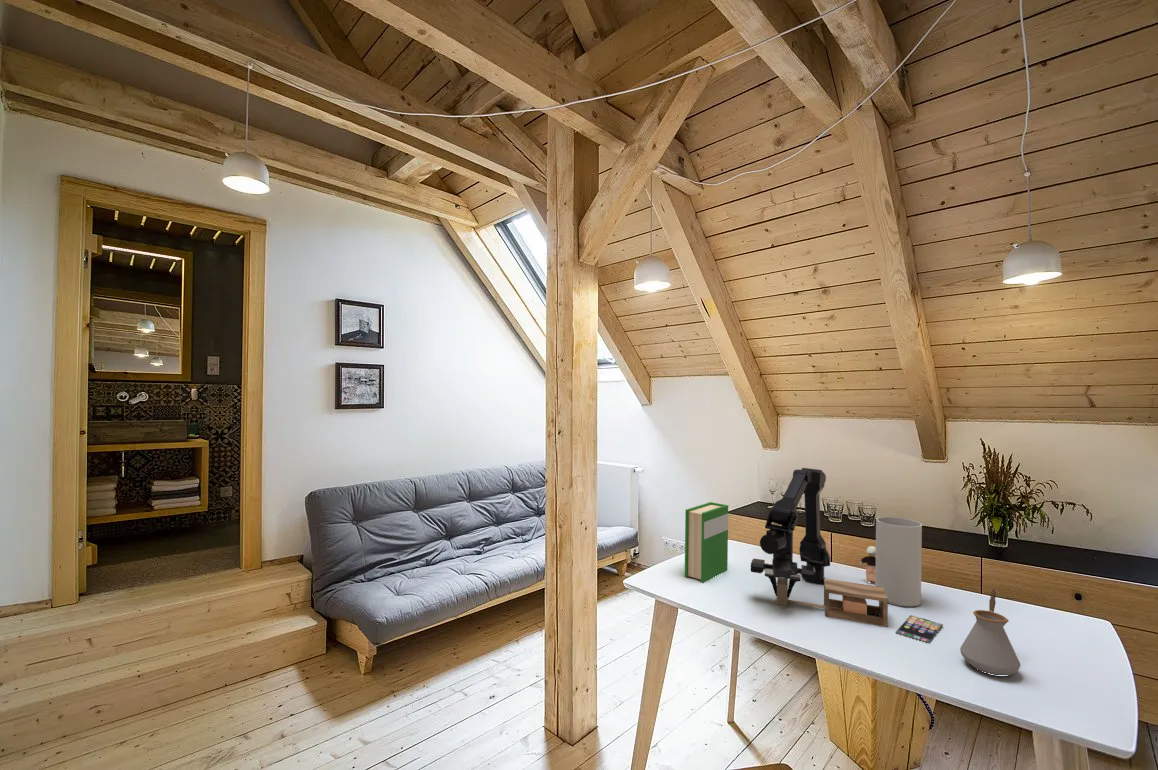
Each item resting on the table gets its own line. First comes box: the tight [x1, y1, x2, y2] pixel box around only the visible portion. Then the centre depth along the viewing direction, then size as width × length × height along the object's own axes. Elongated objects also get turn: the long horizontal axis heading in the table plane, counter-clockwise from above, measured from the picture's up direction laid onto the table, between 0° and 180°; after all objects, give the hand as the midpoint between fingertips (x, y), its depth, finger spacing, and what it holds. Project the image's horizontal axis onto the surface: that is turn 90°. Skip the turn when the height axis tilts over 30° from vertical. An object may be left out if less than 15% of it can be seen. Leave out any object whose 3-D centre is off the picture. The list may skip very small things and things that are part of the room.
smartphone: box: [895, 614, 944, 644], centre depth 146 cm, size 8×15×1 cm, turn 134°
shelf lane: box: [823, 578, 889, 628], centre depth 155 cm, size 9×16×8 cm, turn 67°
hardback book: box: [684, 501, 729, 584], centre depth 188 cm, size 18×7×24 cm, turn 137°
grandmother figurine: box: [858, 545, 876, 584], centre depth 181 cm, size 8×4×13 cm, turn 65°
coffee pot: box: [959, 588, 1021, 676], centre depth 130 cm, size 21×12×15 cm, turn 138°
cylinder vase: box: [874, 516, 923, 608], centre depth 167 cm, size 12×12×25 cm
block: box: [776, 577, 868, 615], centre depth 158 cm, size 6×24×7 cm, turn 67°
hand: (782, 596), depth 163 cm, fingers open, 3 cm apart
